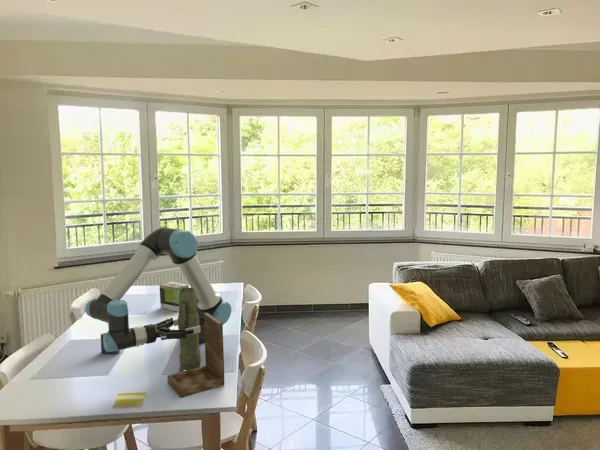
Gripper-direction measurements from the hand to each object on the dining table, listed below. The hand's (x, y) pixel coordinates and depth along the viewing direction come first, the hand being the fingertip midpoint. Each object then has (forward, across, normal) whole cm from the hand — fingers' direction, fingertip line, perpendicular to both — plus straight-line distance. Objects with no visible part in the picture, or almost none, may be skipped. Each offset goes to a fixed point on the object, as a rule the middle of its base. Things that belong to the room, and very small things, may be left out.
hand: (194, 324), depth 208 cm
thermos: (-2, 0, -19) cm, 19 cm away
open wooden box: (-6, +16, -19) cm, 25 cm away
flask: (-27, -36, -19) cm, 49 cm away
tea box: (+20, -83, -19) cm, 88 cm away
